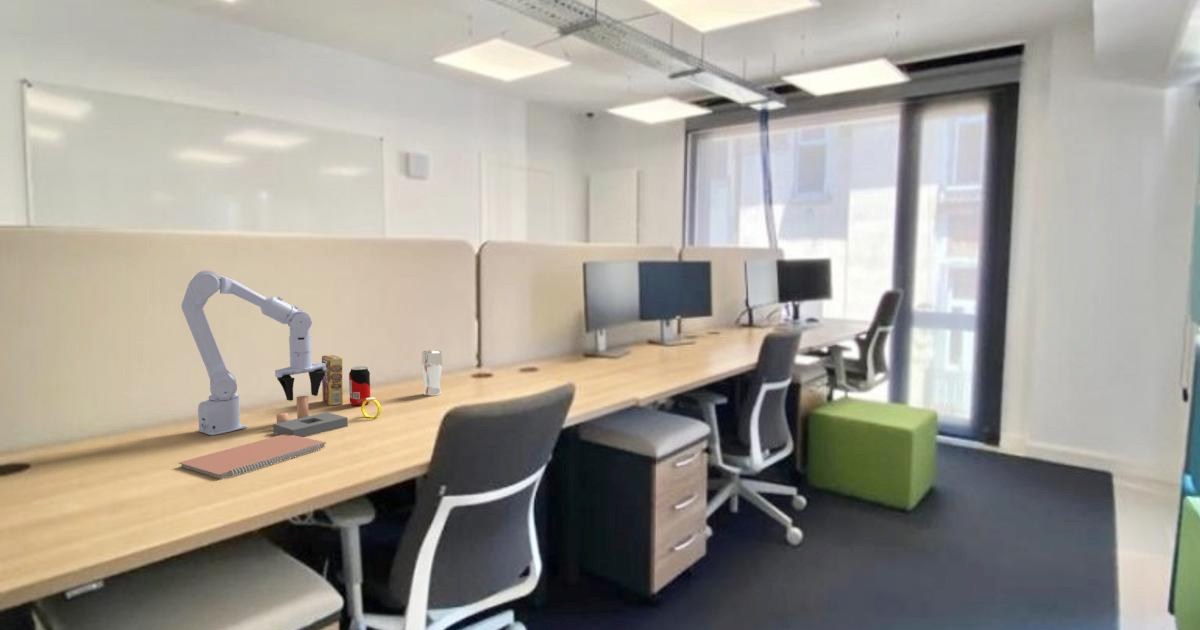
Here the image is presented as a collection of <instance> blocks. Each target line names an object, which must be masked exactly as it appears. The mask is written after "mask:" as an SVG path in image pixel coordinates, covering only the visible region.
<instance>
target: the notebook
mask: <svg viewBox="0 0 1200 630" xmlns="http://www.w3.org/2000/svg"><path fill="white" fill-rule="evenodd" d="M326 444H327V442H326V441H322V440H317V439H312V438H309V437H308V438H307V437H300V436H295V435H291V434H283V435H279V434H278V435H276V436H273V437H268V438H265V439H261V440H258V441H257V440H256V441H254V442H249V443H247V444H242V445H239V446H235V447H231V448H228V449H224V450H220V451H217V452H213V453H209V454H205V455H202V456H198V457H194V458H191V459H186V460H182V461H179V462H178V464H180V466H181V467H182V468H185V469H187V470H191V471H194V472H198V473H201V474H203V473H204V474H203V475H206V474H207V475H206V476H209V475H211V476H210V477H212V476H213V478H216V479H219V480H223V479H222V478H224V479H227V478H230V477H229V476H231V477H232V478H234V477H235V476H236V477H237V476H241V475H244V474H247V473H250V472H253V471H256V470H259V469H262V468H263V467H264V468H265V467H266V466H267V467H268V466H269V465H270V466H272V464H273V465H274V464H275V463H276V464H279V463H280V462H281V463H282V462H283V461H284V462H285V461H286V460H287V461H288V460H289V459H291V460H293V459H295V458H298V457H299V456H300V457H301V456H302V455H303V456H306V455H308V454H309V453H310V454H311V453H312V452H314V451H313V450H315V452H319V450H322V449H324V448H323V447H325V448H326V446H325V445H326ZM321 448H322V449H321ZM318 449H319V450H318ZM311 451H312V452H311ZM308 452H309V453H308ZM304 453H305V454H304ZM300 454H302V455H300ZM298 455H299V456H298ZM295 456H296V457H295ZM290 457H291V458H290ZM287 458H289V459H287ZM285 459H286V460H285ZM280 460H281V461H280ZM282 460H283V461H282ZM277 461H278V462H277ZM274 462H275V463H274ZM271 463H272V464H271ZM268 464H269V465H268ZM265 465H266V466H265ZM262 466H263V467H262ZM181 467H180V468H181ZM259 467H260V468H259ZM256 468H257V469H256ZM248 470H249V471H248ZM245 471H246V472H245ZM242 472H243V473H242ZM239 473H240V474H239ZM235 474H236V475H235ZM232 475H233V476H232ZM226 477H227V478H226ZM220 478H221V479H220Z"/></svg>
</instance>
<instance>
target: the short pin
mask: <svg viewBox="0 0 1200 630" xmlns="http://www.w3.org/2000/svg"><path fill="white" fill-rule="evenodd" d="M289 417H290V416H289V412H281V413H276V423H280V422H285V421H289V420H290V419H289Z"/></svg>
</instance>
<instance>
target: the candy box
mask: <svg viewBox="0 0 1200 630" xmlns="http://www.w3.org/2000/svg"><path fill="white" fill-rule="evenodd" d="M321 363H325V364H326V370H323V371H325V376H324V377H323V379H322V381H321V386H322V388H321V390H322V393H321V394H322V401H323V402H324V403H326V404H327V405H329V406H336V405H337V406H338V405H339V404H340V405H343V398H344V397H343V394H344V393H343V358H342V357H339V356H337V355H334V354H327V355H322V356H321Z"/></svg>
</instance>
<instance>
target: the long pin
mask: <svg viewBox="0 0 1200 630" xmlns="http://www.w3.org/2000/svg"><path fill="white" fill-rule="evenodd" d="M308 416H310V415H309V396H308V395H298V396H296V417H297V418H296V419H298V418H303V417H308Z"/></svg>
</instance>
